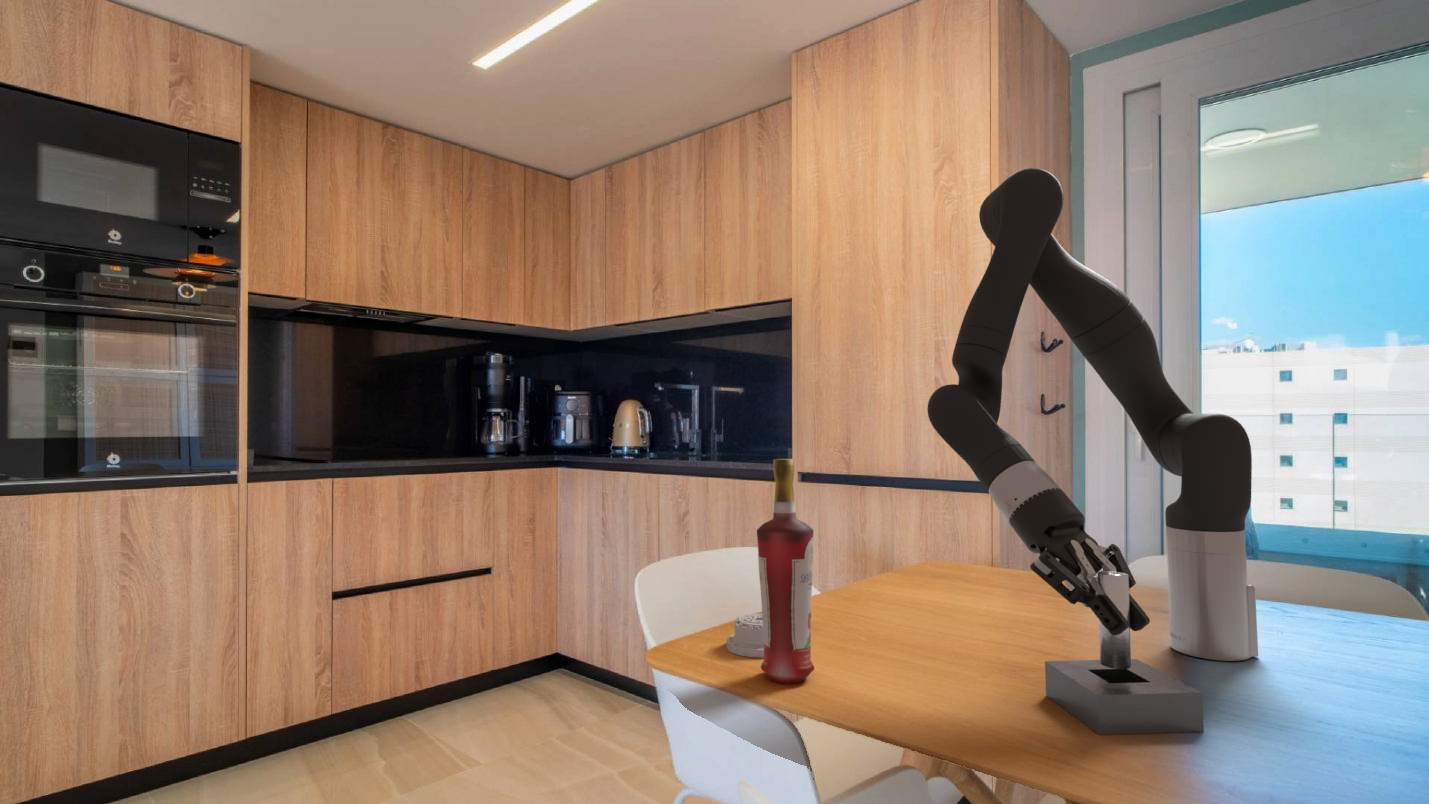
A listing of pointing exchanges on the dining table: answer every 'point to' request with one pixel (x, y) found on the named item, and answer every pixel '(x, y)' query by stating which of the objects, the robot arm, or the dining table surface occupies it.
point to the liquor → (786, 584)
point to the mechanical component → (747, 636)
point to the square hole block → (1124, 698)
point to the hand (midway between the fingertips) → (1132, 628)
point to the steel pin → (1117, 589)
